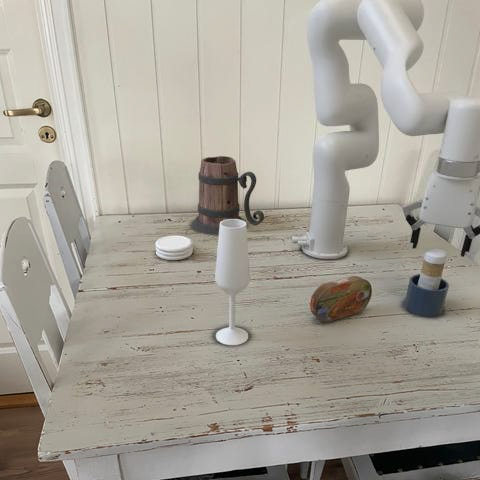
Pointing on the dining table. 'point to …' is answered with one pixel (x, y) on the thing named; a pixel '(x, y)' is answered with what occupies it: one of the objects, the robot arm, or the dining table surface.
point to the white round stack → (174, 247)
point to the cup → (425, 298)
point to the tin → (340, 298)
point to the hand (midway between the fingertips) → (438, 250)
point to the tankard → (222, 194)
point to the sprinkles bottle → (432, 269)
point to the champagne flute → (232, 273)
